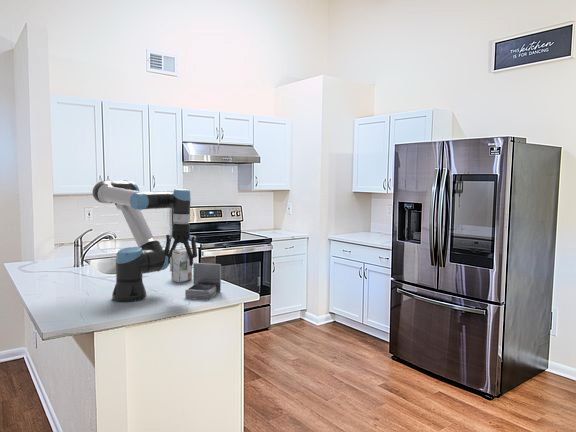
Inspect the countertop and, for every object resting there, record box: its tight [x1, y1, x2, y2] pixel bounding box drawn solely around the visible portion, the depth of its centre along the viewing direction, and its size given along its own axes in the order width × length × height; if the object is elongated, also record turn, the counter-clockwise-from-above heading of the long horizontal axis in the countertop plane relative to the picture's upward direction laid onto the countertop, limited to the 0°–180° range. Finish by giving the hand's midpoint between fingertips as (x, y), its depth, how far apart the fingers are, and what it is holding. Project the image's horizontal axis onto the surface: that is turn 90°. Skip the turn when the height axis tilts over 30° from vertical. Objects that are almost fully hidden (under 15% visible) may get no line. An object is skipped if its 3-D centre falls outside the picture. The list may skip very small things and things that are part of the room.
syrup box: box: [170, 248, 190, 283], centre depth 212 cm, size 6×6×14 cm
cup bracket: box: [184, 262, 222, 301], centre depth 224 cm, size 14×15×14 cm
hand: (180, 271), depth 212 cm, fingers closed on syrup box, 8 cm apart
